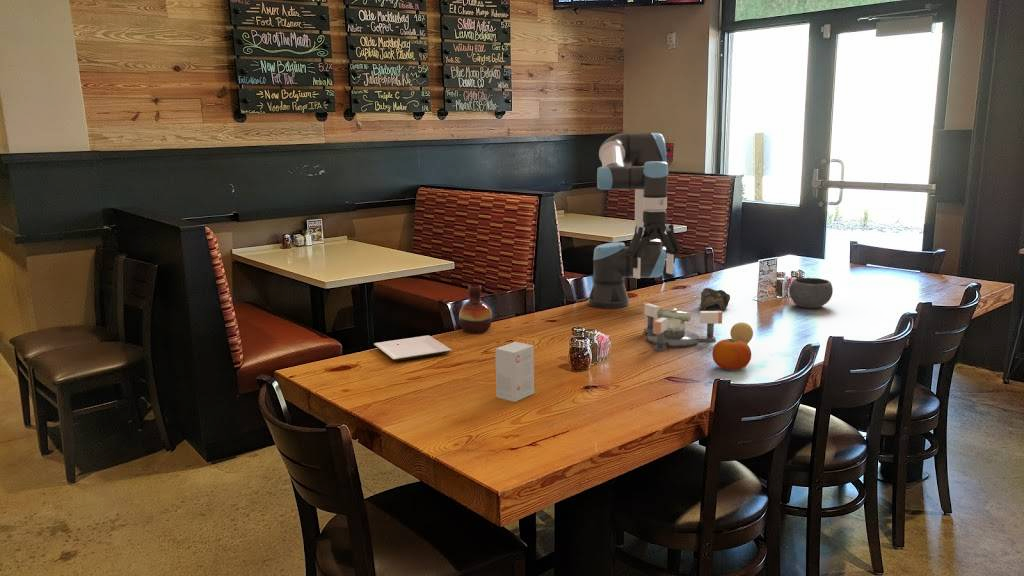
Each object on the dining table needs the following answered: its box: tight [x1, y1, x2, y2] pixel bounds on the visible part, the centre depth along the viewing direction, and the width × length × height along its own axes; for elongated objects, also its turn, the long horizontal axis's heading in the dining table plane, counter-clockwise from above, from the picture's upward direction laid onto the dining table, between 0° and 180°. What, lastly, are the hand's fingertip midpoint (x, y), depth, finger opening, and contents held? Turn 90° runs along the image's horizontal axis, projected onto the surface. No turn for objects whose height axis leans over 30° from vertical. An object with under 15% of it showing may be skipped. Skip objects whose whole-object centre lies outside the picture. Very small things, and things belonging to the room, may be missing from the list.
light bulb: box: [730, 322, 754, 345], centre depth 228 cm, size 6×6×10 cm
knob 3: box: [699, 310, 723, 337], centre depth 245 cm, size 6×2×8 cm, turn 88°
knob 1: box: [641, 302, 661, 329], centre depth 255 cm, size 6×2×8 cm, turn 28°
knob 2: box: [653, 317, 668, 346], centre depth 236 cm, size 6×2×8 cm, turn 148°
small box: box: [494, 341, 535, 403], centre depth 197 cm, size 8×6×13 cm
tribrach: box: [643, 307, 717, 352], centre depth 243 cm, size 24×21×10 cm
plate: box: [373, 334, 453, 362], centre depth 238 cm, size 19×19×2 cm
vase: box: [458, 284, 493, 334], centre depth 260 cm, size 11×11×15 cm
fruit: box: [711, 338, 752, 371], centre depth 217 cm, size 11×10×8 cm
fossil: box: [699, 287, 731, 312], centre depth 287 cm, size 11×9×10 cm
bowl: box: [789, 277, 834, 309], centre depth 287 cm, size 15×15×10 cm
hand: (653, 275), depth 253 cm, fingers open, 13 cm apart
